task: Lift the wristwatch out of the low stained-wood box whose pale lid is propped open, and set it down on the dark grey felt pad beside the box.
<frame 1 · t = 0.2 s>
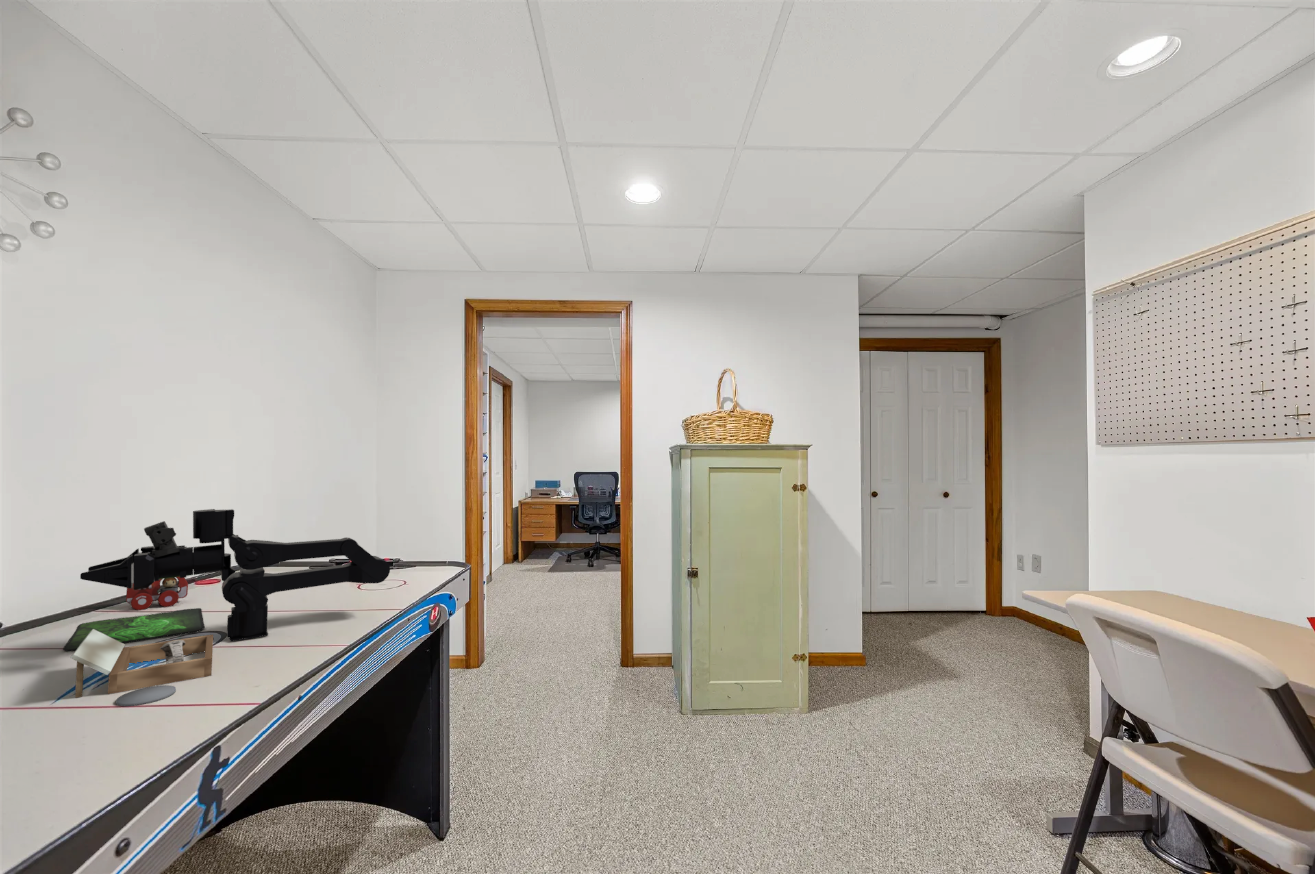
hand: (84, 572, 104), 16 cm above the table, tool horizontal, fingers open, 9 cm apart
wristwatch: (173, 669, 101), resting in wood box
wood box: (165, 669, 100), on the table
mouse mat: (140, 629, 126), on the table
felt pad: (146, 696, 89), on the table
toy fire truck: (156, 606, 145), on the table
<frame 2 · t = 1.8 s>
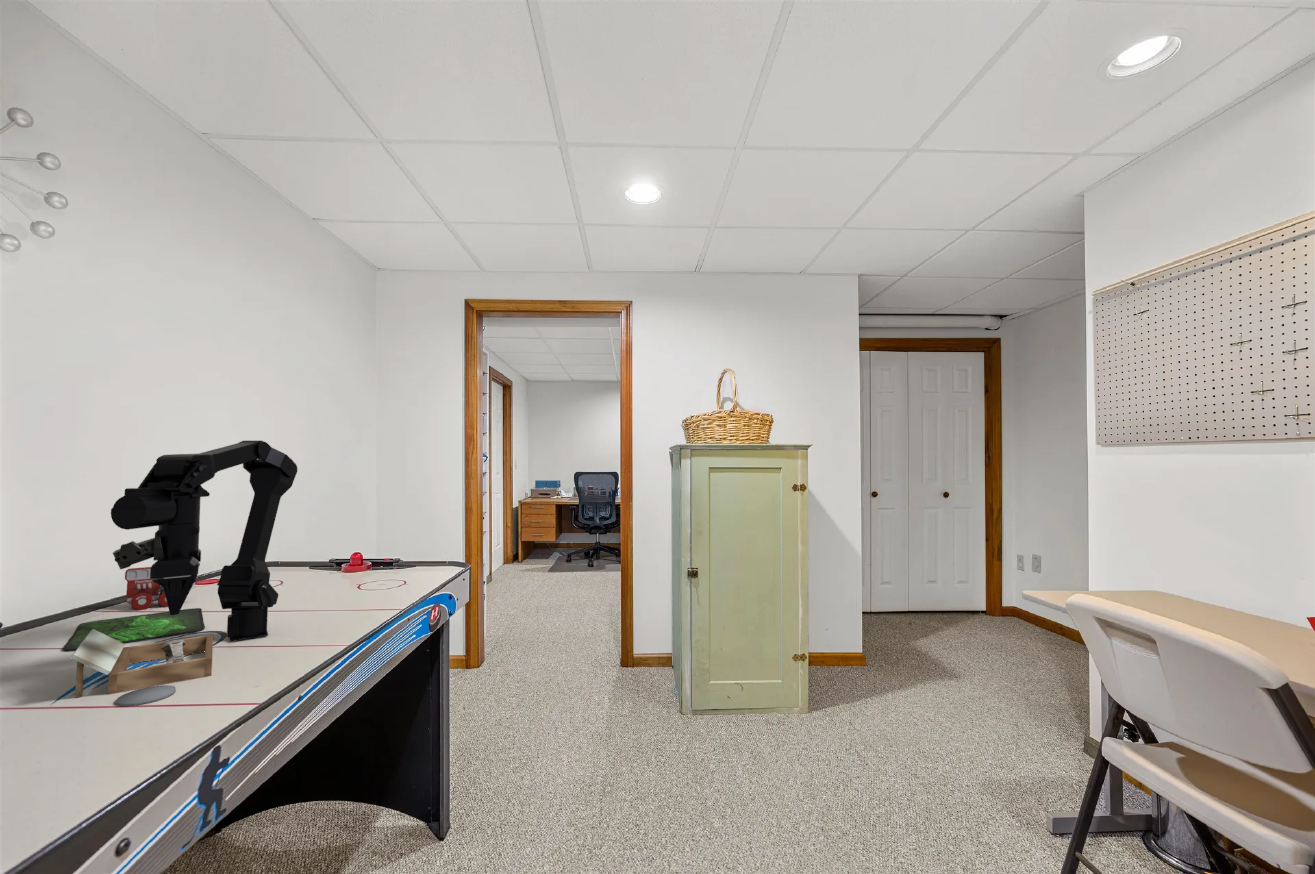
hand: (175, 609, 101), 11 cm above the table, tool pointing down, fingers open, 9 cm apart
nothing on the table moved.
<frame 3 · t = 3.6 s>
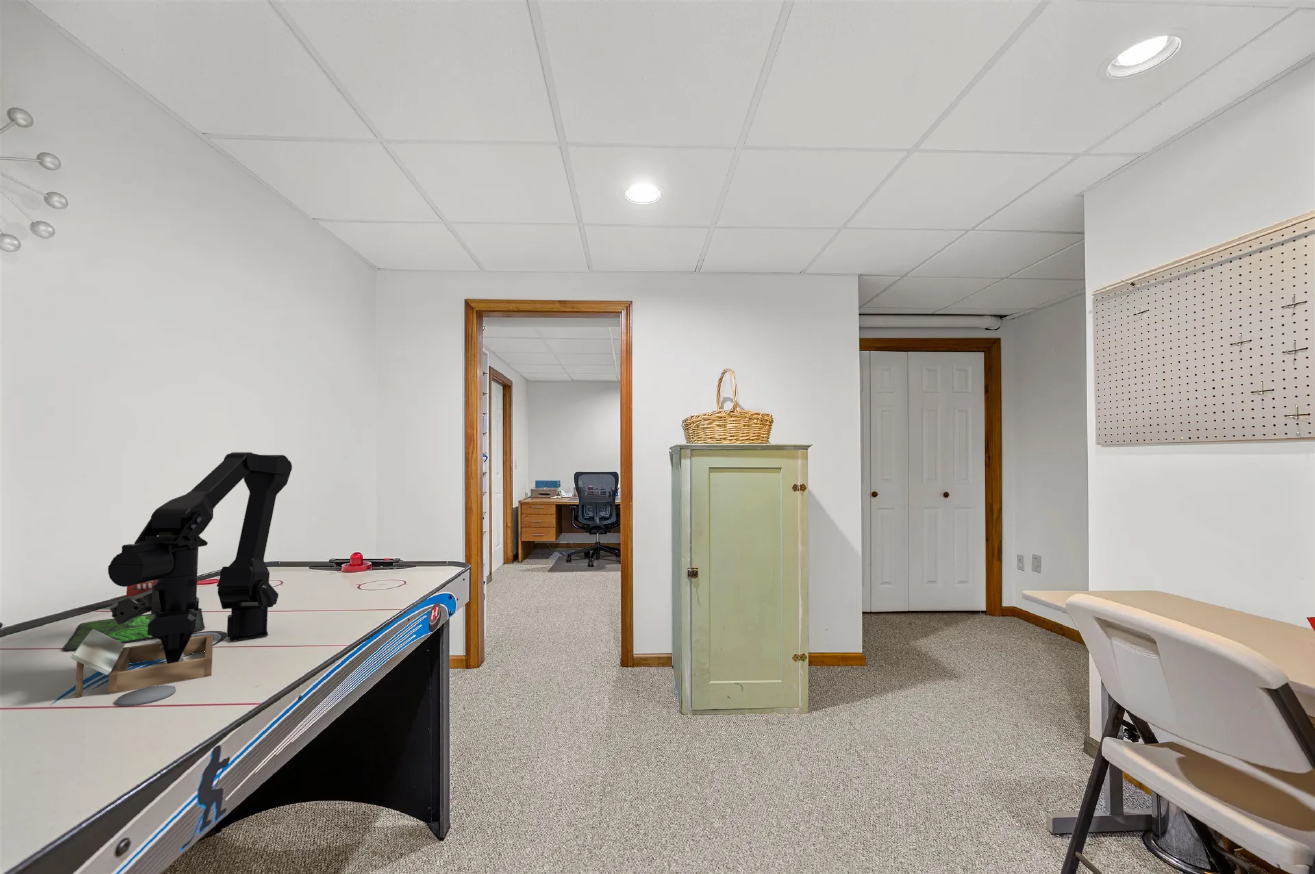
hand: (173, 661, 101), 1 cm above the table, tool pointing down, fingers closed on wristwatch, 6 cm apart
wristwatch: (173, 669, 101), resting in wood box, touching gripper
everything else where it was.
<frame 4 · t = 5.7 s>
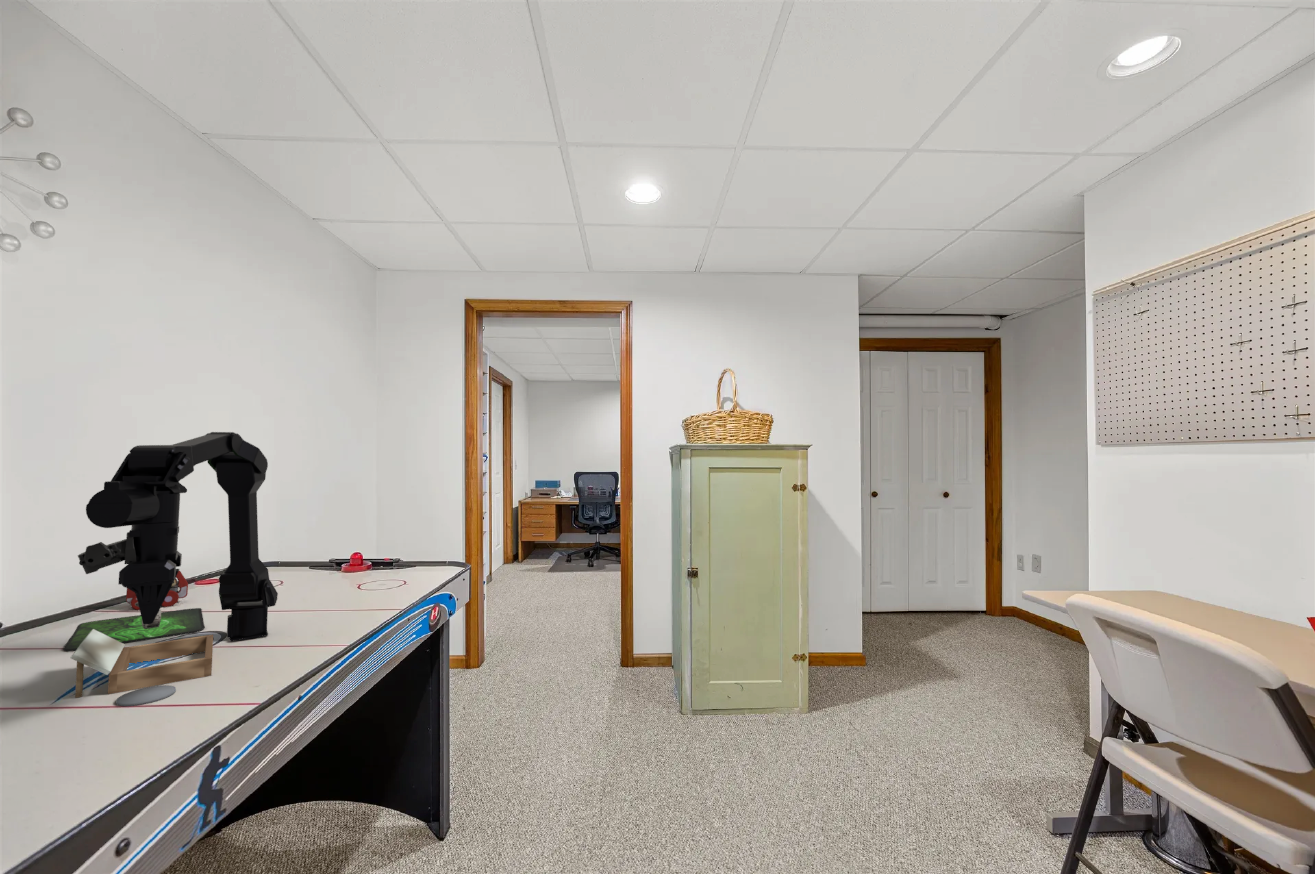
hand: (150, 619, 90), 12 cm above the table, tool pointing down, fingers closed on wristwatch, 6 cm apart
wristwatch: (149, 628, 90), point 10 cm above the table, touching gripper
everything else where it was.
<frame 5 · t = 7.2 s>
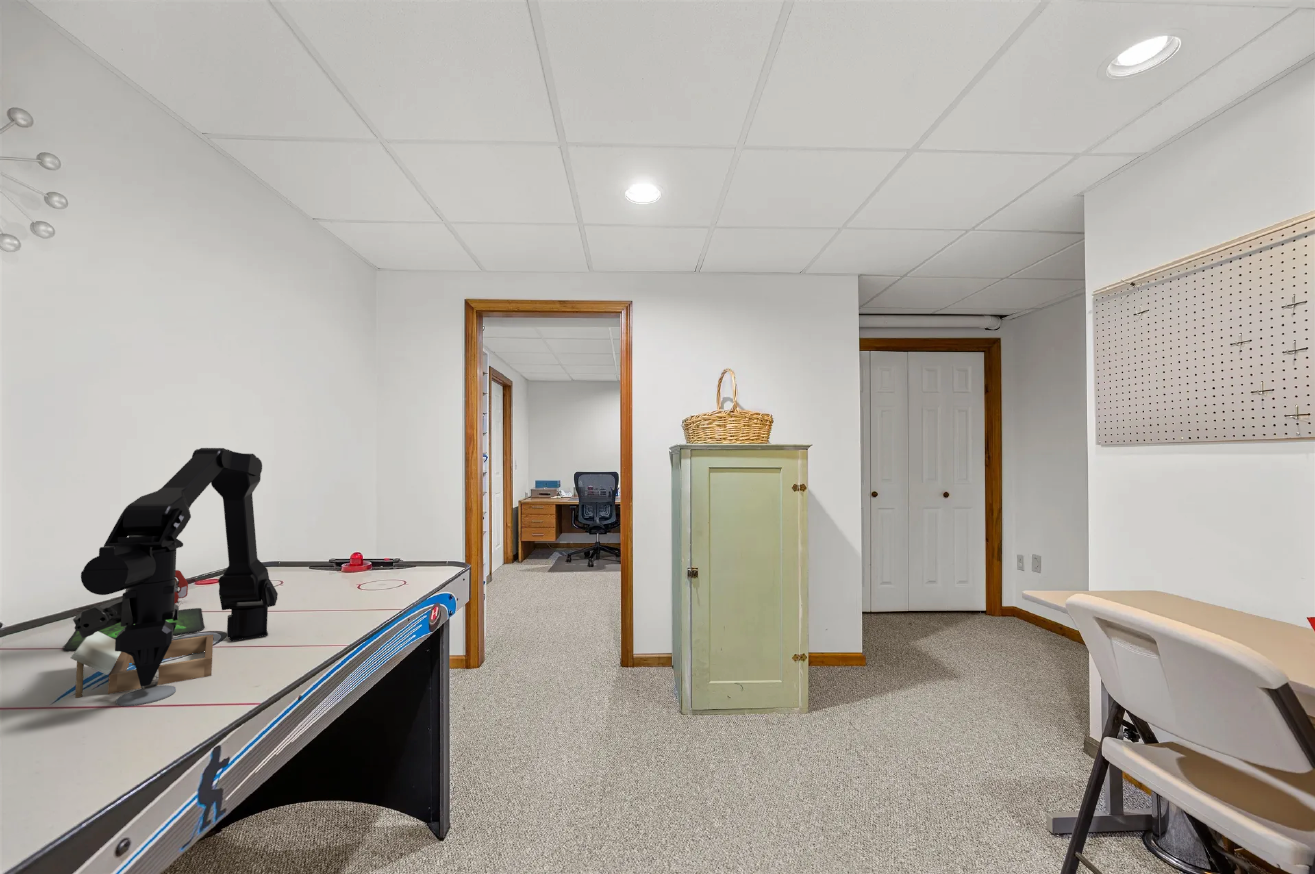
hand: (147, 678, 89), 3 cm above the table, tool pointing down, fingers closed on wristwatch, 6 cm apart
wristwatch: (147, 688, 89), point 1 cm above the table, touching gripper
everything else where it was.
when the fingers open (3 cm above the table, at t = 8.0 s): wristwatch stays where it is, resting on felt pad.
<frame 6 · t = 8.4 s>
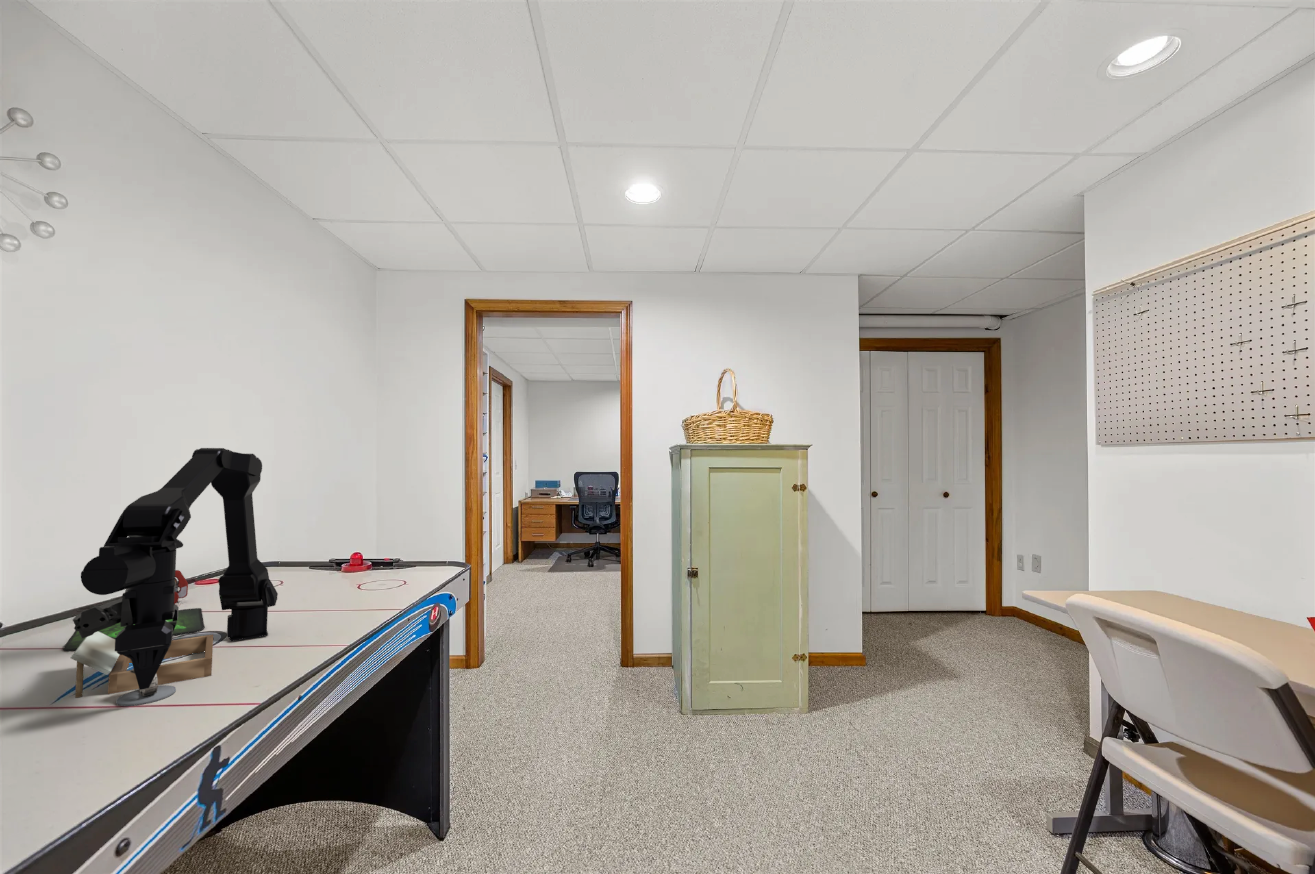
hand: (147, 679, 89), 3 cm above the table, tool pointing down, fingers open, 9 cm apart
wristwatch: (146, 695, 89), resting on felt pad
everything else where it was.
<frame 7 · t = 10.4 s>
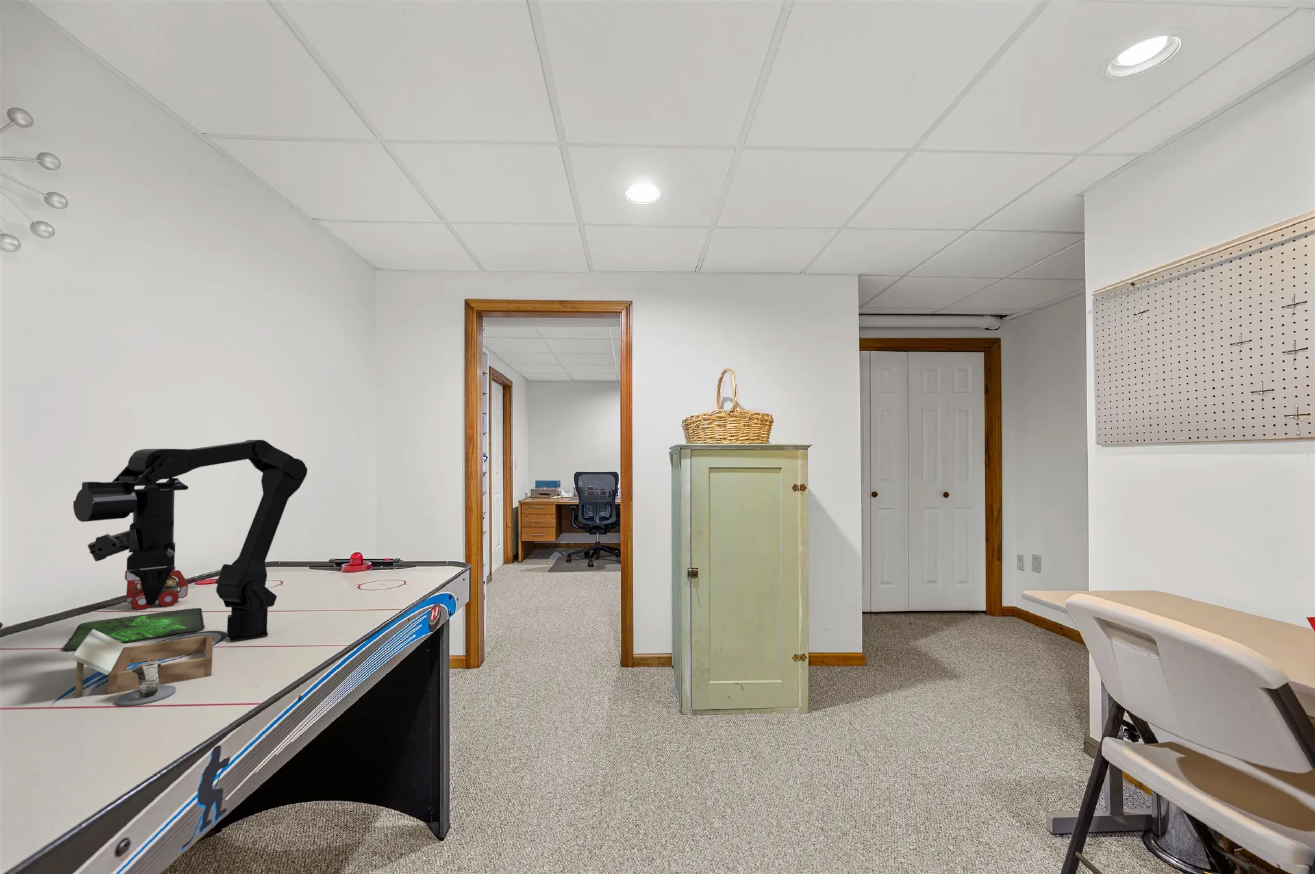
hand: (152, 599, 104), 12 cm above the table, tool pointing down, fingers open, 9 cm apart
nothing on the table moved.
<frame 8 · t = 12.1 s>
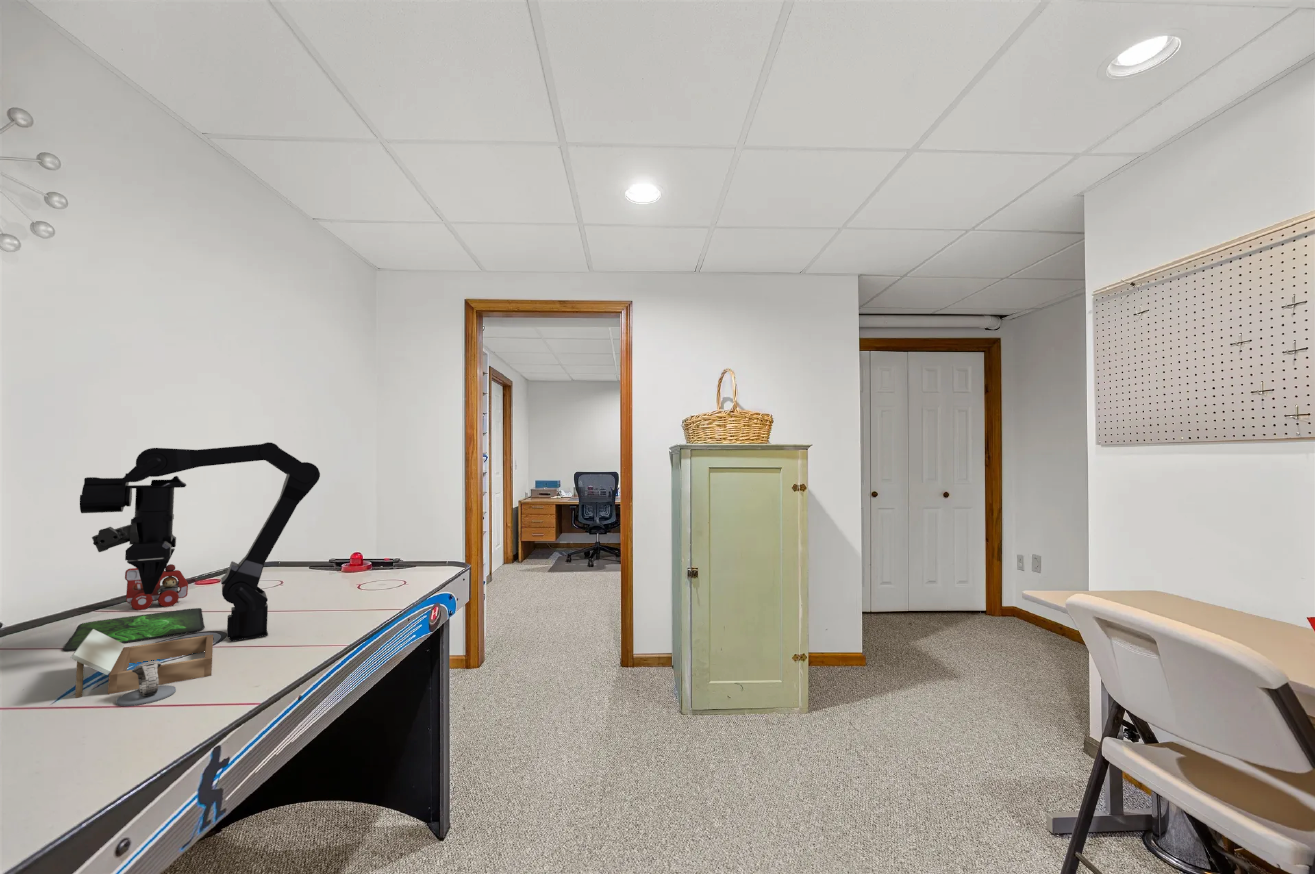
hand: (150, 589, 110), 12 cm above the table, tool pointing down, fingers open, 9 cm apart
nothing on the table moved.
at the end: wristwatch inside the target area on the felt pad (0.0 cm from its centre), point 0.2 cm above the felt pad's base; wristwatch moved 13.7 cm from its start; the gripper is holding nothing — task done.
